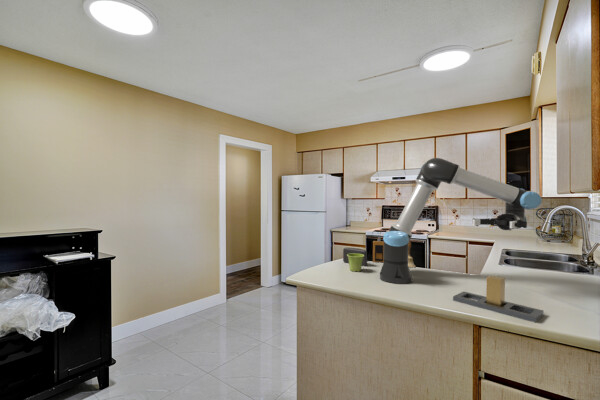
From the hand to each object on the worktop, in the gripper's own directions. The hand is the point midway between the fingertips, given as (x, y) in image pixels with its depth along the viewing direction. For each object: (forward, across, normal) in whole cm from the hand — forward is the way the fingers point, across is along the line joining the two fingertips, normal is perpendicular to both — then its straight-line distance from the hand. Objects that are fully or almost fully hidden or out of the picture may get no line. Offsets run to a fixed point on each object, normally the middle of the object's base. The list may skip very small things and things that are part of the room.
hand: (491, 223), depth 121 cm
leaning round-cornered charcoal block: (+1, +72, -30) cm, 79 cm away
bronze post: (+14, -6, -30) cm, 33 cm away
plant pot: (+13, +62, -30) cm, 70 cm away
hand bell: (-21, +50, -30) cm, 62 cm away
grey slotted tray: (+14, -6, -30) cm, 34 cm away
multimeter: (-19, +70, -30) cm, 79 cm away
